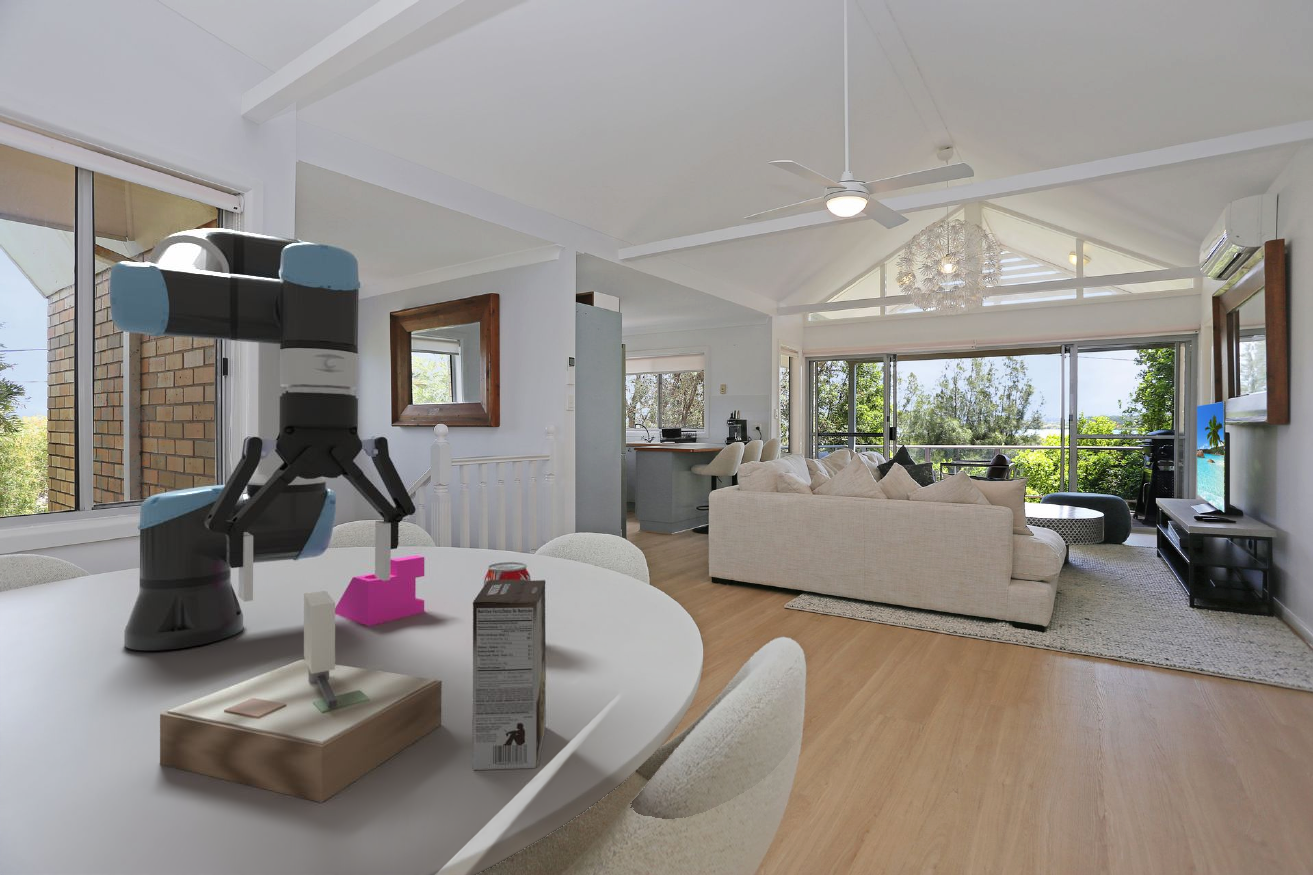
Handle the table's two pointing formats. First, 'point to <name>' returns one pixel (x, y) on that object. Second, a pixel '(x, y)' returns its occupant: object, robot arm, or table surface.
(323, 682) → the switch lever
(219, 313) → the robot arm
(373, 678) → the switch box
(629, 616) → the table surface
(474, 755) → the coffee box
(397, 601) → the bracket
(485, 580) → the soda can
